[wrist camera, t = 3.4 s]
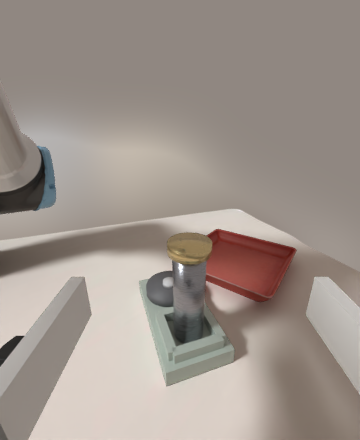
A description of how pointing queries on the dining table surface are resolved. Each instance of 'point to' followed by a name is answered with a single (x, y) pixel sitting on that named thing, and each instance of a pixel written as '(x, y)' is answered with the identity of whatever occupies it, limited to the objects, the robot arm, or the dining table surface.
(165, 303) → the base
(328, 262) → the dining table surface
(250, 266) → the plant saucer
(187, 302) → the pin
